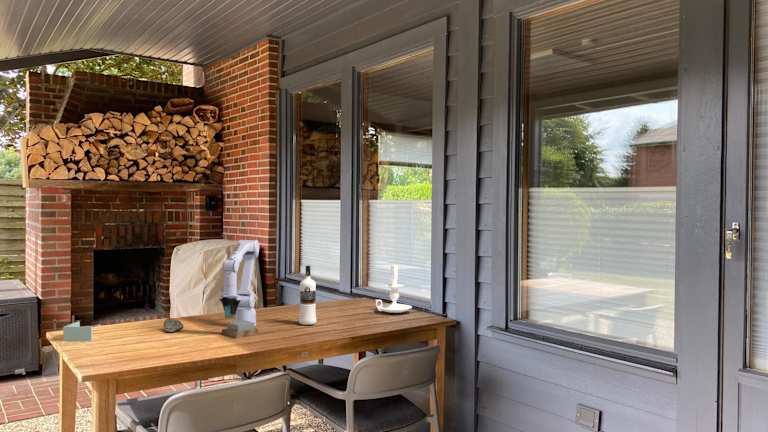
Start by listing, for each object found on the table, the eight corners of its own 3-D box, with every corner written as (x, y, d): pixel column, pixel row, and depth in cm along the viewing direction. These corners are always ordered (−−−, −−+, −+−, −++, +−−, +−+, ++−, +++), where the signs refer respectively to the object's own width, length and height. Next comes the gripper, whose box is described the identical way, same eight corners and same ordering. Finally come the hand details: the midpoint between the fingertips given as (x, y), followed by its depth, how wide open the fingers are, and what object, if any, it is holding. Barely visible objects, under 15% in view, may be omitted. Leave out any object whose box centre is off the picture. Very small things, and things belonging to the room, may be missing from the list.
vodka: (318, 321, 304) (318, 264, 304) (314, 325, 295) (314, 266, 295) (301, 321, 305) (301, 264, 305) (296, 324, 296) (297, 266, 296)
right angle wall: (91, 344, 252) (91, 327, 252) (63, 344, 251) (63, 326, 251) (103, 338, 264) (103, 321, 264) (77, 337, 263) (77, 321, 263)
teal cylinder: (231, 315, 277) (231, 305, 277) (236, 316, 274) (237, 306, 274) (222, 316, 274) (222, 306, 274) (227, 318, 271) (227, 307, 270)
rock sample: (159, 324, 270) (168, 310, 277) (156, 333, 275) (165, 319, 282) (179, 334, 272) (188, 320, 278) (176, 342, 276) (185, 328, 283)
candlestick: (363, 312, 333) (364, 263, 333) (395, 307, 349) (395, 261, 349) (387, 317, 318) (387, 266, 317) (419, 312, 334) (419, 264, 334)
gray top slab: (243, 326, 280) (243, 320, 280) (254, 329, 274) (254, 322, 274) (227, 328, 273) (227, 322, 273) (238, 331, 267) (238, 325, 267)
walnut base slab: (243, 331, 282) (243, 325, 282) (258, 335, 274) (258, 328, 274) (221, 335, 273) (221, 329, 273) (236, 339, 265) (236, 332, 265)
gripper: (214, 284, 276) (214, 312, 276) (231, 287, 266) (231, 316, 266) (227, 283, 281) (227, 311, 281) (244, 286, 271) (244, 314, 272)
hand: (230, 313), depth 274 cm, fingers closed on teal cylinder, 5 cm apart
